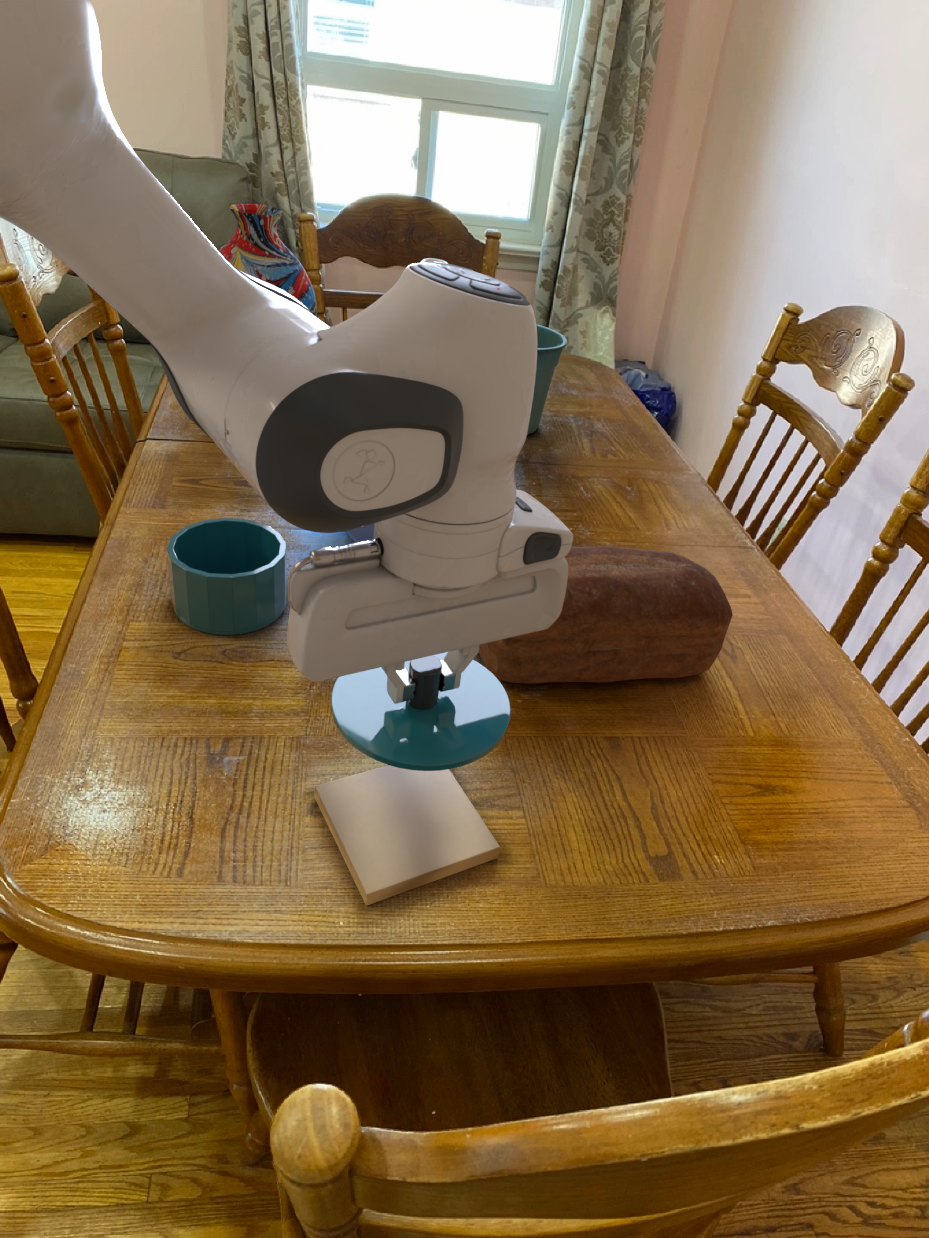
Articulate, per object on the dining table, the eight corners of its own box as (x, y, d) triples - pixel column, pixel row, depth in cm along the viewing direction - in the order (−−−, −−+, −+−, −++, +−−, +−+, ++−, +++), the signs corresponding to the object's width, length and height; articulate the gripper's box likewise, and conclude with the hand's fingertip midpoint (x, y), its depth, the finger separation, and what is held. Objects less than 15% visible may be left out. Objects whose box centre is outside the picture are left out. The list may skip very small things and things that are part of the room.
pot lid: (372, 799, 55) (376, 749, 52) (305, 676, 65) (306, 628, 62) (541, 748, 61) (553, 700, 58) (458, 642, 70) (464, 597, 68)
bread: (456, 621, 96) (469, 530, 89) (674, 616, 103) (702, 531, 96) (482, 699, 86) (500, 603, 78) (724, 688, 92) (760, 598, 85)
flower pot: (464, 400, 155) (475, 312, 145) (550, 413, 155) (567, 327, 145) (455, 433, 141) (466, 339, 132) (549, 448, 141) (567, 355, 132)
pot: (187, 644, 87) (182, 585, 83) (162, 582, 95) (156, 526, 91) (300, 622, 92) (301, 566, 88) (267, 565, 101) (266, 512, 97)
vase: (207, 374, 149) (197, 191, 132) (313, 380, 153) (317, 204, 136) (199, 415, 134) (186, 215, 117) (316, 421, 138) (320, 228, 121)
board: (365, 906, 64) (367, 894, 63) (313, 797, 72) (314, 785, 71) (498, 858, 69) (500, 846, 68) (435, 761, 78) (437, 750, 77)
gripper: (304, 582, 47) (303, 754, 55) (594, 532, 56) (557, 686, 64) (271, 529, 51) (274, 696, 59) (545, 490, 60) (516, 640, 68)
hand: (423, 690), depth 62 cm, fingers closed on pot lid, 2 cm apart
